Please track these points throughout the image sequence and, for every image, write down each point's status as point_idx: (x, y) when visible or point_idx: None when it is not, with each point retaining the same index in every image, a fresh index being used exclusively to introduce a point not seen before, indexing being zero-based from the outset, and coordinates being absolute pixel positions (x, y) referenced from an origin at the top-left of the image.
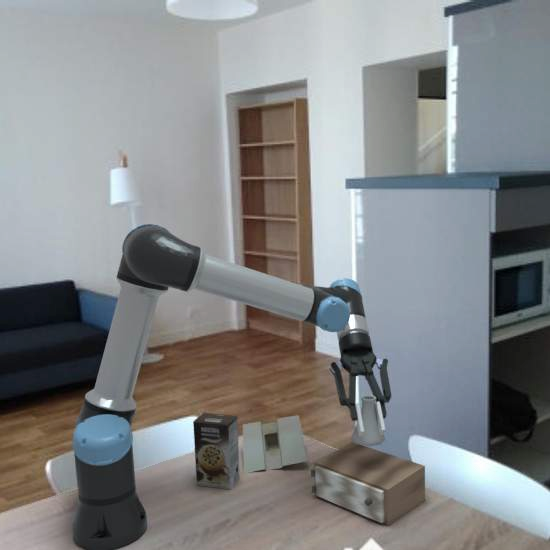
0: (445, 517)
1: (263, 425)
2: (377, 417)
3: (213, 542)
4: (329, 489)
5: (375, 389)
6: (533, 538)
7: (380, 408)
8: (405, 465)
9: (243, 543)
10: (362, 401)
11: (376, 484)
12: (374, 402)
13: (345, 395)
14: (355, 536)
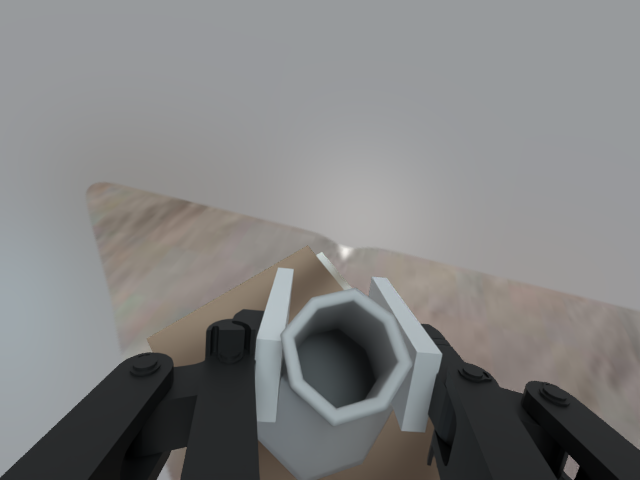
0: (182, 283)
1: None
2: None
3: (607, 310)
4: None
5: (248, 431)
6: (88, 193)
7: (269, 311)
8: (201, 357)
9: (555, 295)
10: (389, 365)
11: (325, 273)
12: (299, 338)
13: (561, 419)
14: (368, 268)
